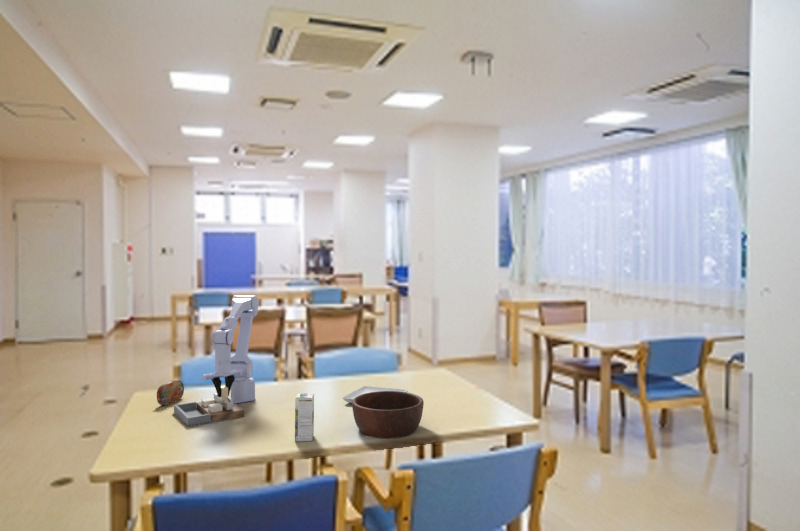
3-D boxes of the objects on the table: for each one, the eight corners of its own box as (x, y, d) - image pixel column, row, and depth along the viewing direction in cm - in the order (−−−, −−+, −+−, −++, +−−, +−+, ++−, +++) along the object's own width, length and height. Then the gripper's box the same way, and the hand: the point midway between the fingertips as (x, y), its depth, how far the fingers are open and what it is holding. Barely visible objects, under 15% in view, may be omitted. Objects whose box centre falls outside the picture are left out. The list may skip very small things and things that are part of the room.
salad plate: (341, 405, 216) (341, 397, 216) (364, 392, 236) (364, 384, 236) (389, 411, 208) (389, 402, 208) (408, 397, 228) (408, 389, 228)
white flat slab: (220, 399, 213) (219, 382, 213) (233, 409, 200) (233, 390, 200) (213, 400, 212) (213, 383, 211) (226, 410, 199) (226, 391, 198)
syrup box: (296, 435, 179) (296, 393, 179) (314, 435, 180) (314, 392, 180) (294, 441, 174) (294, 397, 173) (313, 441, 174) (312, 397, 174)
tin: (162, 408, 211) (161, 386, 211) (155, 407, 212) (154, 386, 212) (184, 397, 226) (184, 378, 226) (178, 397, 227) (177, 377, 227)
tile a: (211, 402, 210) (211, 397, 210) (215, 405, 206) (215, 399, 206) (201, 404, 207) (201, 399, 207) (204, 406, 204) (204, 401, 204)
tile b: (219, 408, 202) (219, 402, 202) (222, 410, 199) (222, 405, 199) (208, 410, 200) (208, 404, 200) (211, 412, 197) (211, 407, 197)
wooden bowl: (429, 420, 196) (429, 392, 196) (415, 444, 172) (415, 412, 172) (364, 415, 202) (364, 388, 202) (342, 438, 177) (342, 407, 177)
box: (195, 409, 209) (195, 401, 209) (210, 422, 193) (210, 414, 193) (174, 412, 205) (173, 405, 205) (187, 426, 189) (187, 418, 189)
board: (226, 404, 217) (226, 397, 217) (244, 416, 201) (244, 409, 200) (196, 409, 210) (196, 402, 210) (211, 422, 193) (211, 415, 193)
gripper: (206, 365, 198) (207, 401, 198) (245, 360, 206) (245, 395, 207) (201, 361, 204) (201, 397, 204) (238, 357, 212) (239, 391, 212)
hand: (223, 396), depth 206 cm, fingers closed on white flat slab, 2 cm apart
